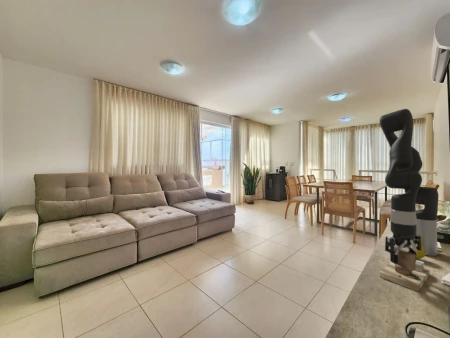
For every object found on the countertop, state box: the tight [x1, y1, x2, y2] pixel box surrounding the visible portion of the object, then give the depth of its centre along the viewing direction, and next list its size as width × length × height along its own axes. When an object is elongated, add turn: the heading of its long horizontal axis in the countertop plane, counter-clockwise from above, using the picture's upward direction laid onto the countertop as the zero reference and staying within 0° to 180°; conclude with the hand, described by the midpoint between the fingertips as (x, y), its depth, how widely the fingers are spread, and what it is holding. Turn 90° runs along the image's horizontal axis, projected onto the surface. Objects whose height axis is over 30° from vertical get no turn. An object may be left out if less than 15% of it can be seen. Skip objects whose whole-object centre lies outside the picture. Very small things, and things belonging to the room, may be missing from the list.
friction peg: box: [394, 249, 419, 279], centre depth 75 cm, size 8×5×8 cm, turn 9°
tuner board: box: [379, 259, 431, 292], centre depth 77 cm, size 18×11×4 cm, turn 124°
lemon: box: [408, 244, 426, 260], centre depth 89 cm, size 6×6×8 cm
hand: (403, 262), depth 75 cm, fingers open, 8 cm apart
